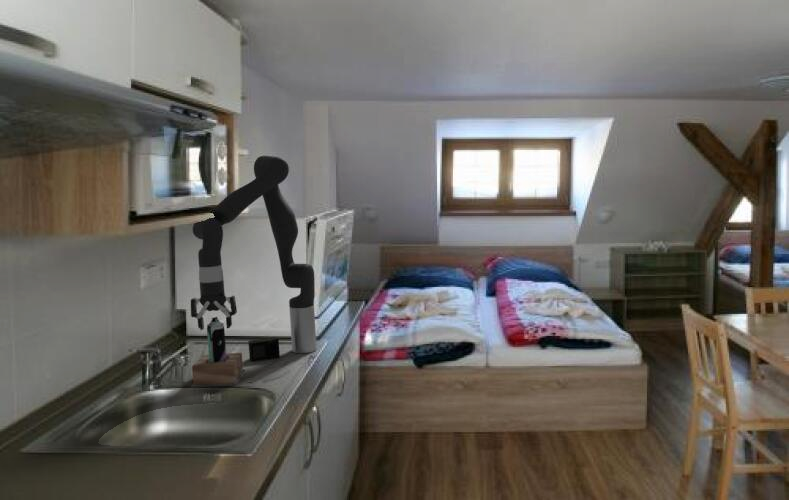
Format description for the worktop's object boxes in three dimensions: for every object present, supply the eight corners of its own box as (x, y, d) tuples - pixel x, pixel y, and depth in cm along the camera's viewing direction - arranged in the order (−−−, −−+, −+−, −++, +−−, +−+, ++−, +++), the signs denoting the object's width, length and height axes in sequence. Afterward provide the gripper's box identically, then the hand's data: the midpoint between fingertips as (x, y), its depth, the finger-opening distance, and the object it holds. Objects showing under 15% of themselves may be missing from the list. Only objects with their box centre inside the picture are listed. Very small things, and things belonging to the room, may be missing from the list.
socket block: (203, 374, 208) (201, 354, 207) (244, 371, 208) (243, 352, 208) (191, 387, 194) (190, 366, 193) (236, 385, 195) (234, 364, 194)
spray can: (223, 379, 198) (218, 318, 196) (207, 379, 199) (202, 319, 197) (230, 374, 203) (226, 315, 201) (215, 374, 204) (211, 315, 202)
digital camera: (251, 362, 219) (250, 343, 218) (249, 359, 224) (248, 340, 223) (280, 358, 223) (279, 339, 222) (277, 354, 228) (276, 336, 227)
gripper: (236, 276, 202) (239, 324, 203) (192, 279, 201) (196, 327, 203) (231, 280, 194) (234, 330, 196) (185, 282, 193) (189, 332, 195)
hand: (215, 328), depth 199 cm, fingers open, 8 cm apart
